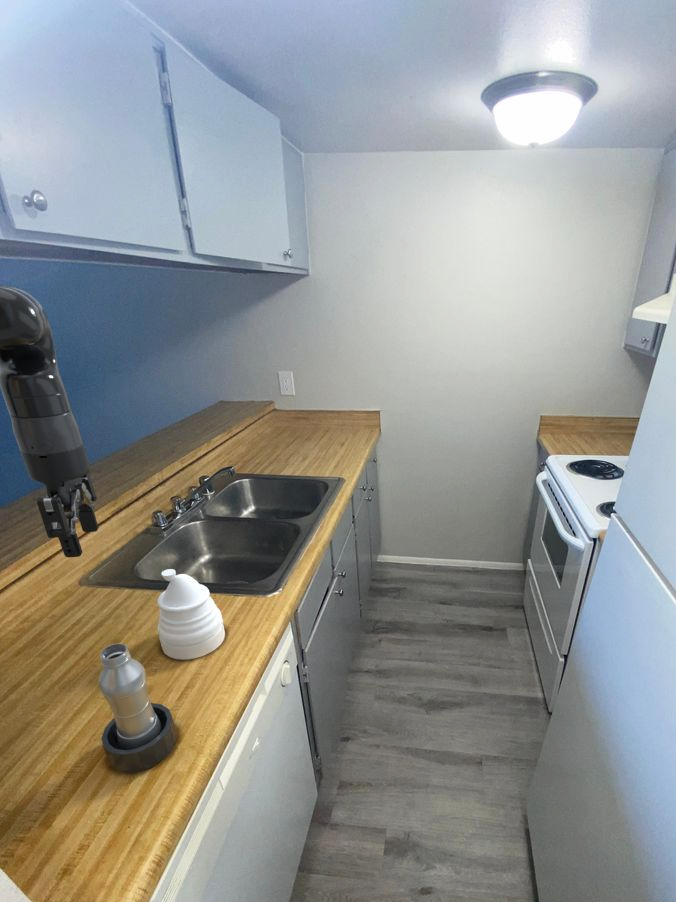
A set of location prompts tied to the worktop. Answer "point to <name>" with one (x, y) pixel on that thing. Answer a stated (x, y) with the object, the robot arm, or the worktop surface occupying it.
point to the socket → (145, 754)
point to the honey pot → (188, 618)
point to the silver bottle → (128, 697)
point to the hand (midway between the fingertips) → (83, 543)
